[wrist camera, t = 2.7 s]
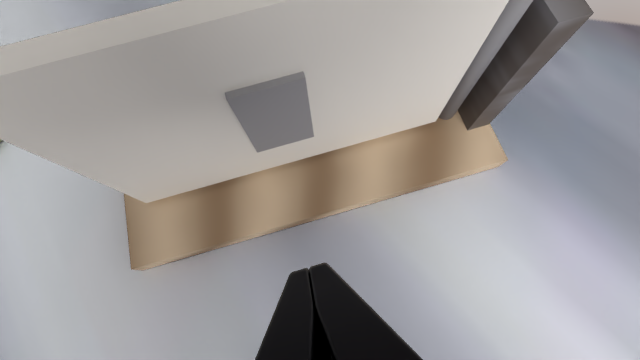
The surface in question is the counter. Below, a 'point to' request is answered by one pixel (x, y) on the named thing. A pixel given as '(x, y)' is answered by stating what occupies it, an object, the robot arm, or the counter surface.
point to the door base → (355, 160)
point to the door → (240, 84)
